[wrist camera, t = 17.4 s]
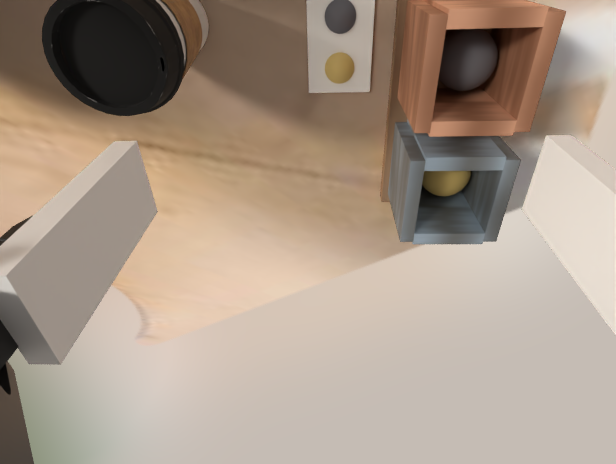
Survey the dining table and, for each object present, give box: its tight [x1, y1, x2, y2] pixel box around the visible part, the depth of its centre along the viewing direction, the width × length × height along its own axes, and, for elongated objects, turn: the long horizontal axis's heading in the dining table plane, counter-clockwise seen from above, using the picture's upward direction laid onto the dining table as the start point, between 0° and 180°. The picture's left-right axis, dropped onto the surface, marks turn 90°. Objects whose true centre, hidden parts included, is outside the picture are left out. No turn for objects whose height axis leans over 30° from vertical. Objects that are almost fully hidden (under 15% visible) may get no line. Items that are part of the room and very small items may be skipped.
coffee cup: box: [42, 0, 209, 116], centre depth 31 cm, size 8×8×15 cm
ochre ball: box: [422, 171, 471, 196], centre depth 40 cm, size 5×5×5 cm
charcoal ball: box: [439, 29, 498, 91], centre depth 34 cm, size 5×5×5 cm
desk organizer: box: [380, 0, 566, 244], centre depth 36 cm, size 10×21×10 cm, turn 2°
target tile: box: [306, 0, 375, 93], centre depth 37 cm, size 6×9×1 cm, turn 2°
